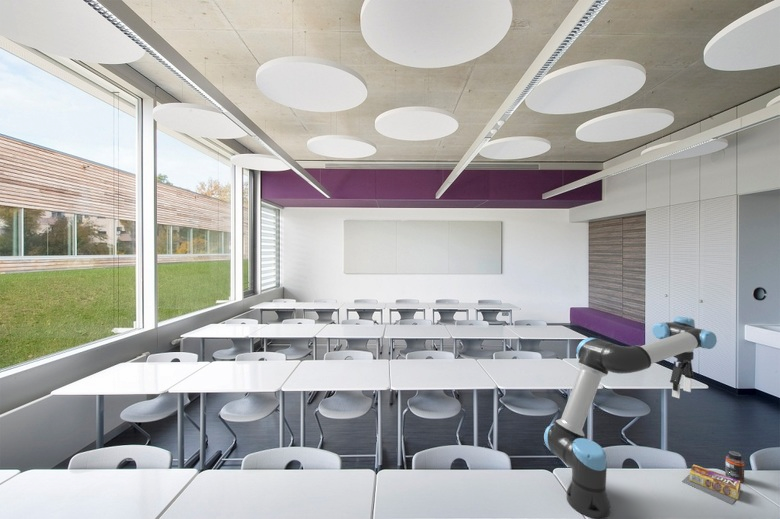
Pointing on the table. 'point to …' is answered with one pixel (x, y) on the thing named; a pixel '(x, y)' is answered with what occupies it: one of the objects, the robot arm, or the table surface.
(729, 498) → the felt pad
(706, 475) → the candy box
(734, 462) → the supplement bottle
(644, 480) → the table surface
